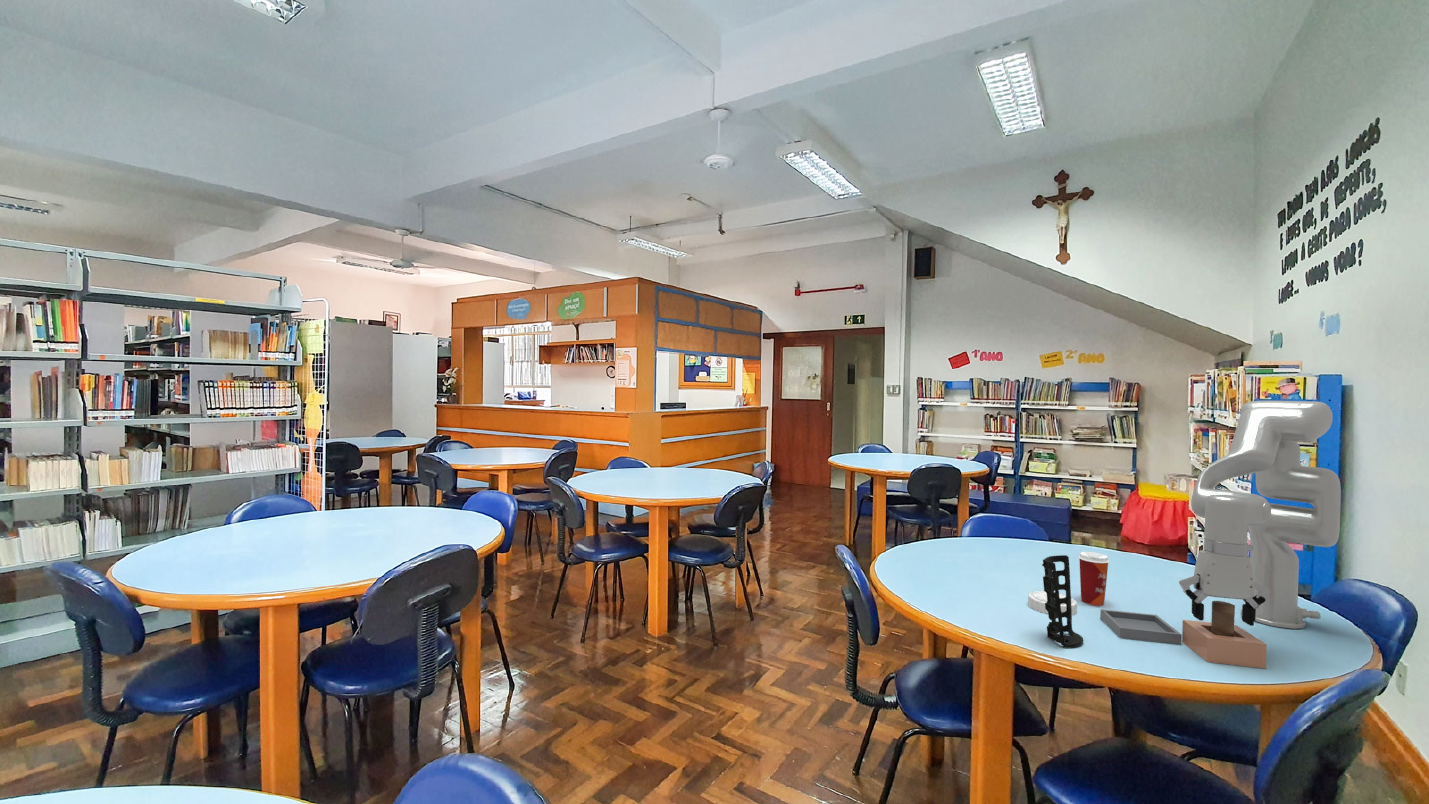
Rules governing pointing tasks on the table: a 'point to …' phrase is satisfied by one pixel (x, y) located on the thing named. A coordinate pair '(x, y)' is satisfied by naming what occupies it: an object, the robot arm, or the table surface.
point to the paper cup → (1093, 577)
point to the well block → (1224, 645)
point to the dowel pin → (1222, 618)
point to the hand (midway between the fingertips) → (1222, 621)
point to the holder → (1059, 602)
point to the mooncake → (1040, 598)
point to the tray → (1140, 627)
